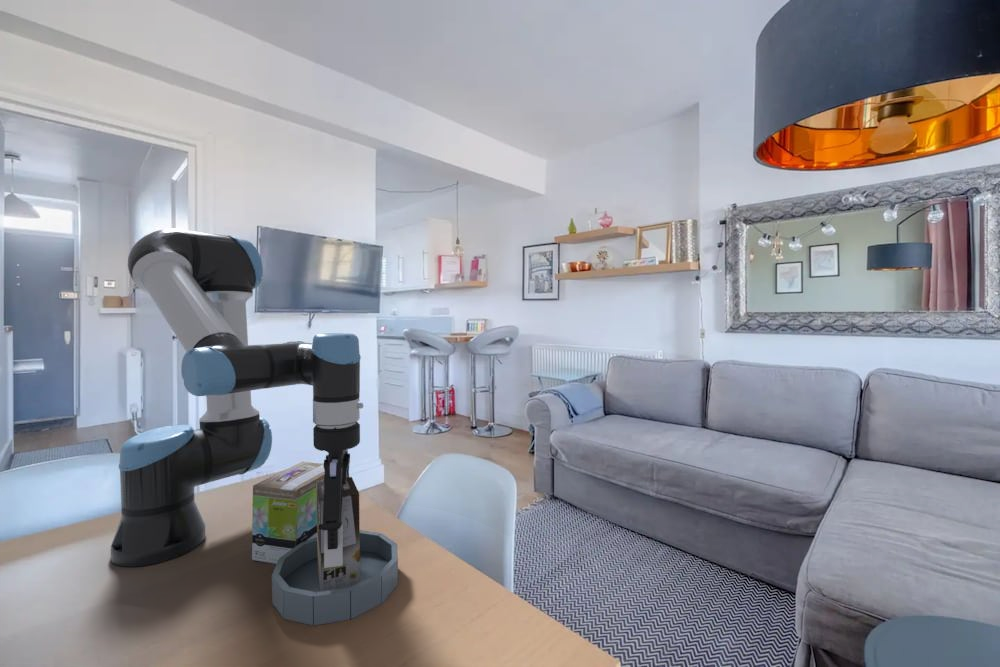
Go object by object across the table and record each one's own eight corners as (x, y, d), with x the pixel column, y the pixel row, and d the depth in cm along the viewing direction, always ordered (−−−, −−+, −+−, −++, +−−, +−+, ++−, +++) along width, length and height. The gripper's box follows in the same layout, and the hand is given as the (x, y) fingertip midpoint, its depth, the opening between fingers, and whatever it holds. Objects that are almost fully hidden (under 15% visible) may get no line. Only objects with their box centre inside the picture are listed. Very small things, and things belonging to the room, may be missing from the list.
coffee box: (361, 587, 75) (360, 493, 74) (320, 598, 72) (319, 500, 71) (353, 560, 83) (352, 475, 82) (316, 568, 80) (315, 481, 79)
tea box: (297, 568, 82) (296, 489, 81) (250, 561, 84) (249, 485, 83) (342, 529, 97) (341, 462, 96) (301, 525, 99) (300, 459, 98)
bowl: (288, 560, 84) (287, 537, 84) (396, 547, 89) (395, 525, 89) (259, 634, 65) (259, 604, 65) (399, 611, 70) (399, 583, 70)
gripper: (355, 442, 65) (356, 583, 66) (363, 407, 89) (363, 510, 90) (300, 445, 63) (301, 590, 64) (323, 408, 87) (324, 514, 88)
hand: (337, 544), depth 77 cm, fingers open, 13 cm apart
